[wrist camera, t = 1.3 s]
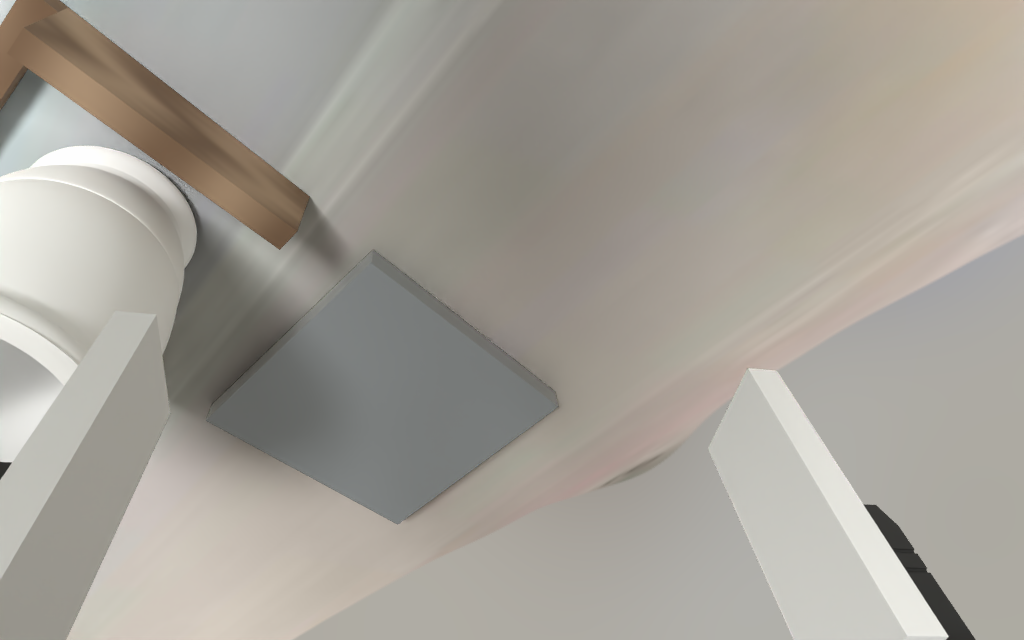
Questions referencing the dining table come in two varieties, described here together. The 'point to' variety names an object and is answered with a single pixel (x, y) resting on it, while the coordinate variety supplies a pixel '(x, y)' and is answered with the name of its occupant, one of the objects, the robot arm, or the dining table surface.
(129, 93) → the brown wooden u-shaped frame
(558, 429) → the dining table surface
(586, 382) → the dining table surface
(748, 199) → the dining table surface
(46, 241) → the jar
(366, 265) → the plate
